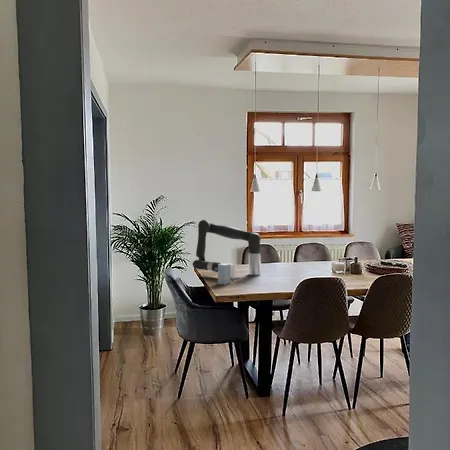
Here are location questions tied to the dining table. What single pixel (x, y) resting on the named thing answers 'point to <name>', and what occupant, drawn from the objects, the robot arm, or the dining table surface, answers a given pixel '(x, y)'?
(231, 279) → the mat
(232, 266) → the lid
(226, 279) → the grey piece
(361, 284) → the dining table surface
